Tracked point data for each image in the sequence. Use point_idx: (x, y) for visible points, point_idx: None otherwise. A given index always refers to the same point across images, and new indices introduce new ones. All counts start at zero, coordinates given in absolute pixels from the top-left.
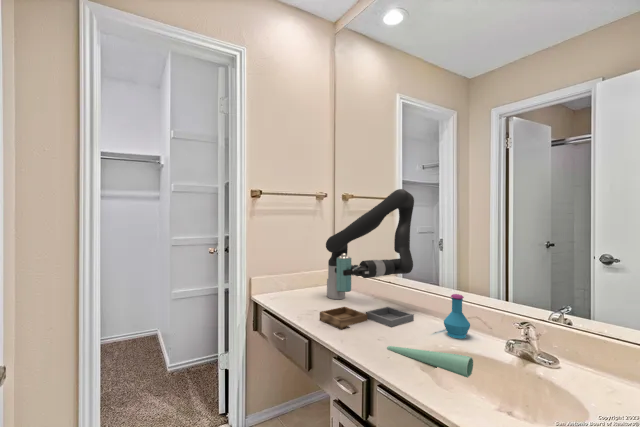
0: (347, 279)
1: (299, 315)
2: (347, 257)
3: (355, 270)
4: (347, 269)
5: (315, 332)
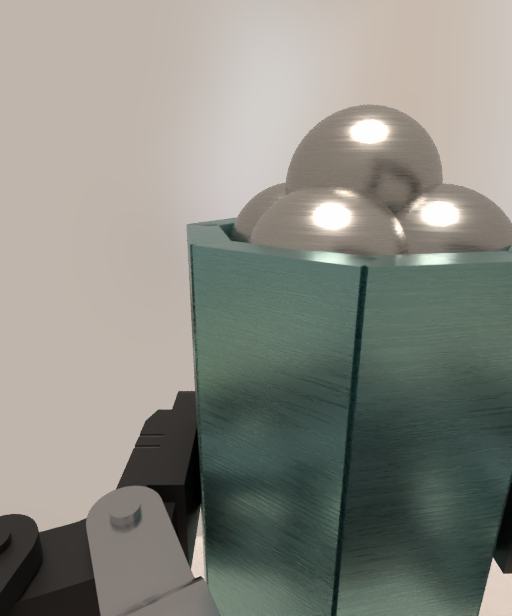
0: (204, 568)
1: (494, 581)
2: (270, 210)
3: (97, 587)
4: (197, 427)
5: (195, 549)
